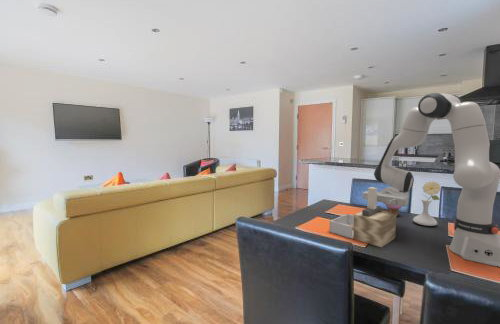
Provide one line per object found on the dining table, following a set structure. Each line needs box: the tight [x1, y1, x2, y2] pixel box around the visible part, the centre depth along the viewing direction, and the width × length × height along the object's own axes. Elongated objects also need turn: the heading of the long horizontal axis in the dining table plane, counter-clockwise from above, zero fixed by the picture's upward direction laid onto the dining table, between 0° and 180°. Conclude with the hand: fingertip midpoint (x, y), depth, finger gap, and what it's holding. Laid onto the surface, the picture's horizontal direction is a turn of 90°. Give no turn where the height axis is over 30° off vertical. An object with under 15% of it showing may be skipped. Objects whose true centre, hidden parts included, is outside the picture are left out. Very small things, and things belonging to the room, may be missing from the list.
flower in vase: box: [412, 180, 442, 227], centre depth 142 cm, size 13×11×25 cm
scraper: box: [362, 186, 381, 217], centre depth 123 cm, size 3×13×12 cm, turn 131°
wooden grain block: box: [352, 210, 397, 248], centre depth 123 cm, size 13×16×12 cm
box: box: [329, 213, 354, 240], centre depth 133 cm, size 12×18×6 cm, turn 131°
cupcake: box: [384, 204, 403, 217], centre depth 160 cm, size 9×9×10 cm
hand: (378, 200), depth 122 cm, fingers open, 8 cm apart
